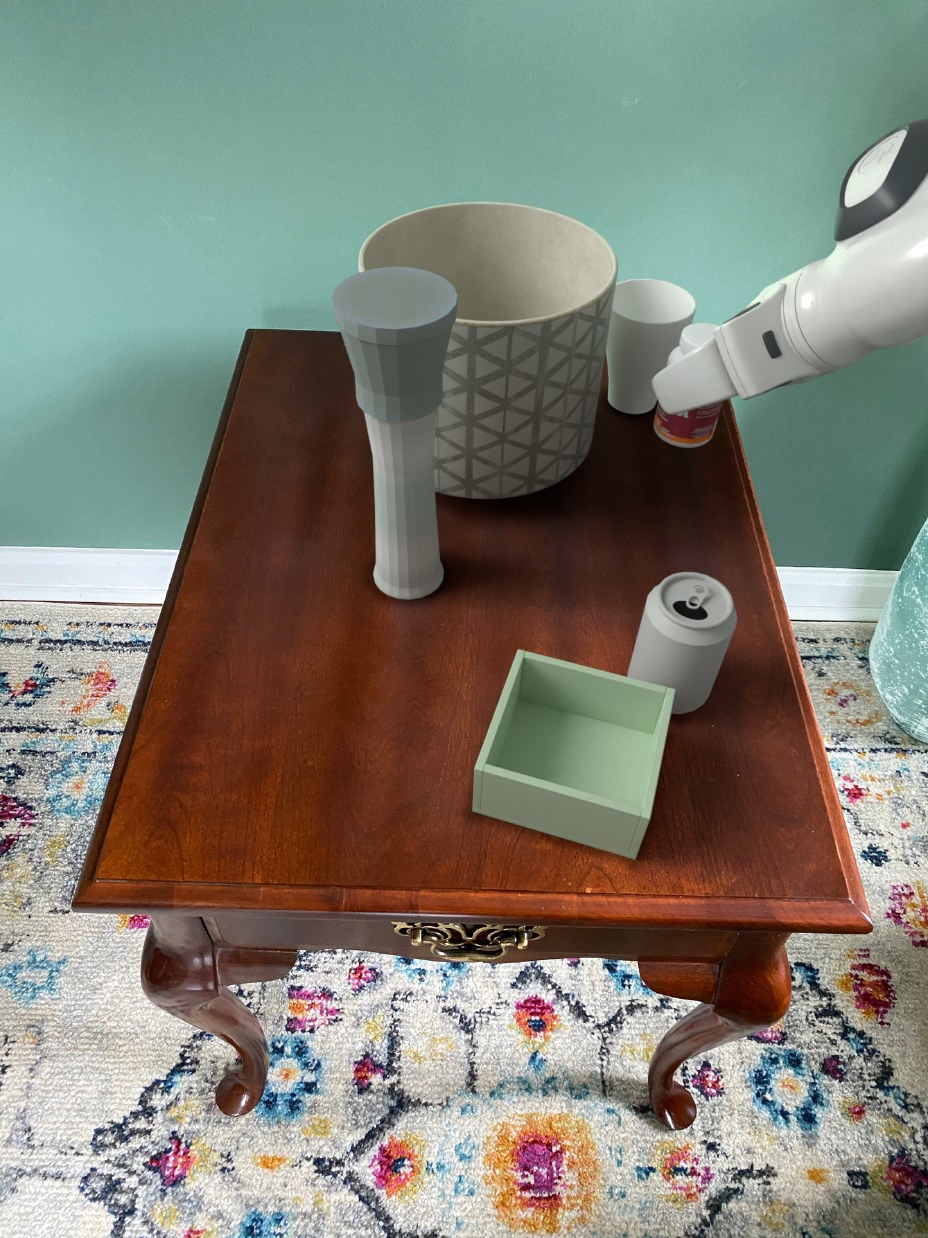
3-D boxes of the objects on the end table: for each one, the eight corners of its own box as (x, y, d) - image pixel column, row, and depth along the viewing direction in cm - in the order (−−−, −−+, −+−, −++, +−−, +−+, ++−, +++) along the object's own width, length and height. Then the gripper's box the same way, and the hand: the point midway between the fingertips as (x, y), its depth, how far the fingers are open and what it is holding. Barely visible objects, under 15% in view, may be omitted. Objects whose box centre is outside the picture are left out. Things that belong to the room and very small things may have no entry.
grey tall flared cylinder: (472, 564, 88) (481, 287, 66) (421, 622, 83) (411, 342, 61) (397, 530, 92) (380, 255, 69) (342, 584, 86) (305, 305, 64)
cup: (587, 375, 112) (602, 276, 102) (668, 379, 112) (690, 279, 102) (592, 423, 105) (608, 322, 95) (678, 426, 105) (703, 325, 95)
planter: (612, 422, 105) (646, 226, 87) (548, 552, 90) (573, 347, 72) (426, 376, 111) (422, 185, 93) (336, 491, 96) (310, 288, 78)
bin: (660, 734, 75) (676, 689, 70) (635, 860, 67) (650, 819, 62) (513, 695, 77) (518, 648, 72) (472, 811, 70) (474, 768, 65)
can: (613, 699, 77) (636, 610, 68) (642, 643, 82) (666, 552, 73) (693, 732, 75) (727, 645, 66) (718, 673, 79) (753, 583, 70)
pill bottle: (640, 423, 89) (660, 325, 81) (688, 409, 91) (712, 312, 83) (676, 456, 86) (700, 357, 77) (725, 440, 88) (754, 342, 79)
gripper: (860, 256, 76) (743, 315, 88) (712, 329, 67) (605, 383, 79) (886, 323, 77) (767, 372, 89) (743, 403, 68) (632, 446, 80)
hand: (689, 378), depth 84 cm, fingers closed on pill bottle, 6 cm apart
